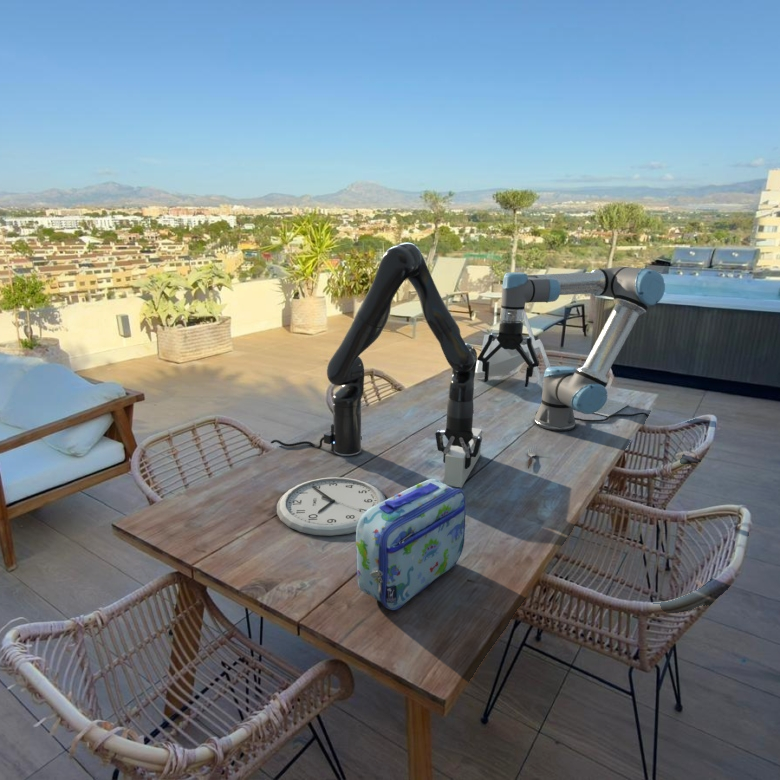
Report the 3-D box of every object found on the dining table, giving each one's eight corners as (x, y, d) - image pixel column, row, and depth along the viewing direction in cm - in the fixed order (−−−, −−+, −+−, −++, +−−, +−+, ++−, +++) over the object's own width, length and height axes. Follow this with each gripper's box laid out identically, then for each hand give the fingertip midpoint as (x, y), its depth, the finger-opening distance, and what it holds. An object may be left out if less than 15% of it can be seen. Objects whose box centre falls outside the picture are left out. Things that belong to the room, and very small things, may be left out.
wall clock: (392, 527, 129) (268, 531, 127) (391, 533, 130) (269, 537, 127) (383, 473, 158) (282, 475, 155) (383, 478, 158) (282, 480, 156)
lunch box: (385, 624, 100) (387, 528, 94) (349, 596, 108) (348, 506, 101) (468, 566, 118) (474, 482, 112) (432, 545, 125) (436, 466, 119)
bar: (464, 452, 178) (466, 426, 175) (480, 455, 176) (482, 429, 173) (443, 484, 156) (445, 455, 153) (461, 487, 154) (463, 458, 151)
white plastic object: (490, 420, 264) (470, 397, 239) (471, 347, 286) (451, 319, 261) (562, 396, 252) (549, 369, 227) (536, 322, 274) (521, 290, 249)
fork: (523, 469, 166) (524, 463, 165) (529, 450, 180) (529, 445, 179) (532, 470, 165) (532, 464, 164) (536, 451, 179) (537, 446, 179)
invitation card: (608, 416, 214) (573, 407, 224) (608, 416, 214) (573, 408, 224) (628, 404, 229) (594, 396, 238) (628, 405, 229) (594, 397, 238)
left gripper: (432, 413, 151) (430, 467, 156) (481, 420, 146) (477, 475, 151) (439, 405, 157) (437, 457, 162) (487, 412, 152) (483, 465, 157)
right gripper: (471, 319, 172) (467, 381, 178) (549, 326, 163) (542, 391, 169) (476, 316, 178) (472, 376, 185) (552, 322, 170) (545, 385, 176)
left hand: (456, 465), depth 156 cm, fingers closed on bar, 5 cm apart
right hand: (506, 383), depth 177 cm, fingers open, 13 cm apart
